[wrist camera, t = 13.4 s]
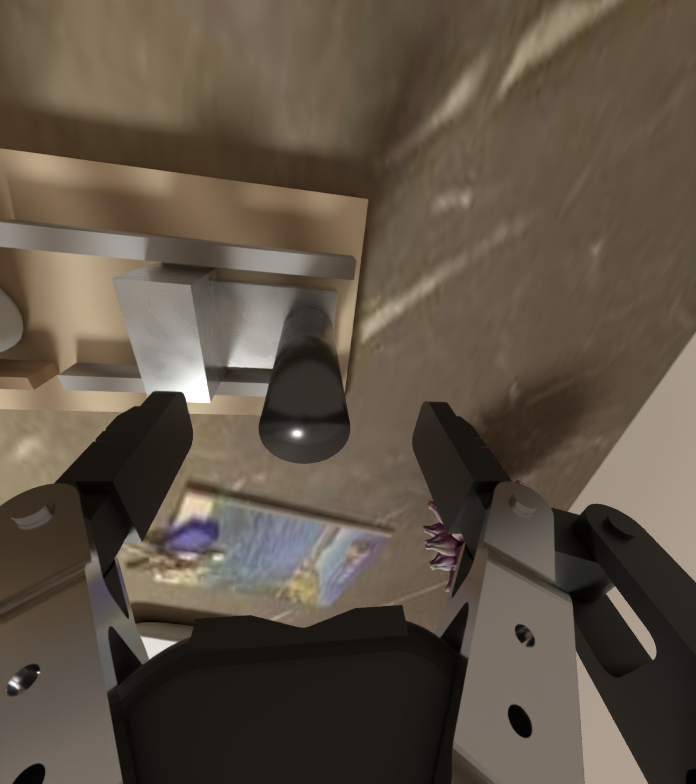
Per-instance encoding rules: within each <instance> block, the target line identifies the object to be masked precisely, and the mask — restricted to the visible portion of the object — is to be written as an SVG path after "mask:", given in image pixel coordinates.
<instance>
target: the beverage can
mask: <svg viewBox="0 0 696 784" xmlns="http://www.w3.org/2000/svg"><path fill="white" fill-rule="evenodd" d="M22 333H23V320H22V315H21V313H20V311H19V309H18V307H17V305H16V304H15V303H14V302H13V300H12V299H11V298H10V296H9V295H7V294H6V293H5V292H4V291H3V290H2V289H1V288H0V352H3V351H5V350H7V349H9V348H11V347H13V346H15V345H16V344H17V343H18V341H19V340H20V339H21V337H22Z"/></svg>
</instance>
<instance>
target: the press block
mask: <svg viewBox="0 0 696 784" xmlns="http://www.w3.org/2000/svg"><path fill="white" fill-rule="evenodd" d="M111 280H112V283H113V286H114V289H115V293H116V296H117V299H118V302H119V306H120V309H121V312H122V315H123V319H124V322H125V325H126V329H127V332H128V335H129V338H130V342H131V345H132V348H133V351H134V355H135V358H136V361H137V364H138V368H139V371H140V374H141V378H142V381H143V384H144V387H145V391H146V394H147V397H148V396H149V395H150V394H151V393H152V392H153V391H175V392H182V393H183V394H184V395H185V398H186V402H206V403H210V402H211V400H212V398H213V397H214V395H215V393H216V391H217V389H218V387H219V385H220V383H221V381H222V379H223V377H224V375H225V374H226V372H227V370H228V368H229V367H247V368H268V369H272V373H271V377H270V381H269V385H268V390H267V394H266V398H265V402H264V406H263V410H262V414H261V418H260V423H259V435H260V438H261V441H262V443H263V444H264V446H265V447H266V448H267V449H268V450H269V451H270V452H271V453H272V454H273V455H275V456H277V457H278V458H280V459H283V460H285V461H288V462H293V463H301V464H307V463H316V462H320V461H323V460H326V459H328V458H330V457H332V456H333V455H335V454H336V453H338V452H339V451H340V450H341V449H342V448H343V447H344V445H345V444H346V442H347V440H348V438H349V434H350V421H349V416H348V410H347V405H346V399H345V393H344V388H343V382H342V376H341V371H340V365H339V359H338V354H337V348H336V343H335V337H334V321H335V310H336V298H337V290H336V289H333V288H322V287H310V286H299V285H288V284H277V283H266V282H255V281H243V280H232V279H221V278H218V276H217V268H207V267H196V266H186V265H175V264H164V263H154V264H151V265H148V266H145V267H142V268H139V269H136V270H133V271H131V272H128V273H125V274H122V275H119V276H116V277H113V278H111Z"/></svg>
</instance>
